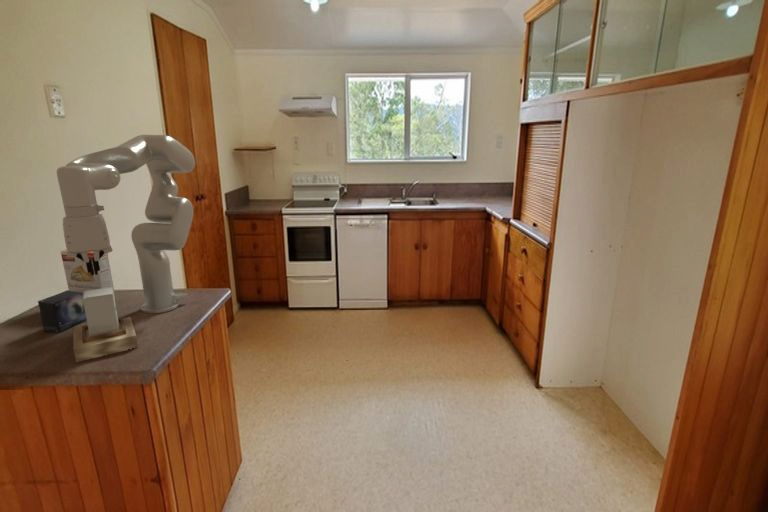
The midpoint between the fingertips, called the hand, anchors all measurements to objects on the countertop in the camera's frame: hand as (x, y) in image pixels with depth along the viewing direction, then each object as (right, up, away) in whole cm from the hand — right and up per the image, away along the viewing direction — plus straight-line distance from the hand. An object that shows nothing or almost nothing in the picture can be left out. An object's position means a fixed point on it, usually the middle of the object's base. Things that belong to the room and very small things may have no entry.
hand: (94, 273), depth 119 cm
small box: (-21, -18, +17) cm, 33 cm away
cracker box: (-25, -13, +36) cm, 46 cm away
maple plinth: (0, -22, +6) cm, 22 cm away
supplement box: (0, -18, +5) cm, 19 cm away
